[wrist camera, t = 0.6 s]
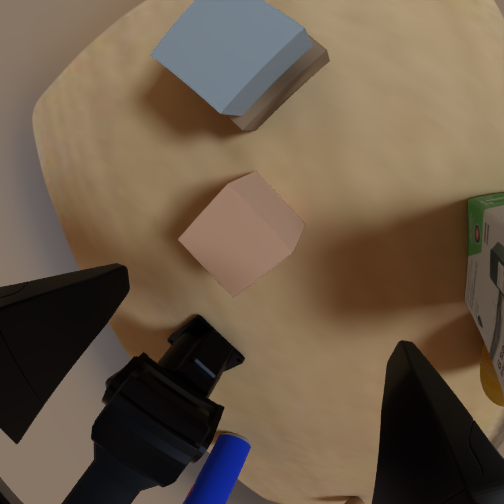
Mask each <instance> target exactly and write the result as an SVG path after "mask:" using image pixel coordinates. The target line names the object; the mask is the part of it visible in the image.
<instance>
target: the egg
mask: <svg viewBox="0 0 504 504" xmlns="http://www.w3.org/2000/svg"><path fill="white" fill-rule="evenodd" d="M344 504H364V502H363V500H362V499H361V498H359V497H353V498H350V499H349V500H347V501H346V502H345V503H344Z"/></svg>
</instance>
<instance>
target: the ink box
mask: <svg viewBox="0 0 504 504" xmlns="http://www.w3.org/2000/svg"><path fill="white" fill-rule="evenodd" d="M465 302H466V304H467V306H468V308H469V310H470V312H471V314H472V316H473V318H474V321H475V323H476V325H477V327H478V329H479V331H480V334H481V336H482V338H483V340H484V343H485V345H486V347H487V350H488V352H489V355H490V358H491V360H492V363H493V365H494V368H495V371H496V373H497V376H498V379H499V382H500V385H501V388H502V392H503V395H504V193H496V194H489V195H484V196H480V197H475V198H471V199H469V200H468V266H467V280H466V291H465Z"/></svg>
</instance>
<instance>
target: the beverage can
mask: <svg viewBox="0 0 504 504" xmlns="http://www.w3.org/2000/svg"><path fill="white" fill-rule="evenodd" d="M250 448H251V447H250V443H249V441H248V440H247V439H246V438H244V437H242V436H240V435H238V434H235V433H229V432H227V433H223V434H221V435H220V436H219V437H218V439H217V441H216V443H215V445H214V447H213V449H212V451H211V453H210V455H209V457H208V458H207V460H206V463H205V464H204V466H203V468H202V470H201V472H200V473H199V475H198V477H197V479H196V481H195V483H194V485H193V487H192V488H191V490H190V492H189V493H188V495H187V497H186V499H185V501H184V502H183V504H226V502H227V500H228V497H229V495H230V493H231V491H232V489H233V487H234V484H235V482H236V480H237V478H238V476H239V473H240V471H241V469H242V467H243V464H244V462H245V460H246V457H247V455H248V453H249V450H250Z"/></svg>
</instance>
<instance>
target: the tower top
mask: <svg viewBox="0 0 504 504" xmlns="http://www.w3.org/2000/svg"><path fill="white" fill-rule="evenodd" d="M312 46H313V45H312V43H311V41H310V38H309V36H308V34H307V32H306V29H305V28H304V27H303V26H302V25H300V24H299V23H297V22H296V21H294V20H293V19H291V18H290V17H289V16H287V15H285V14H284V13H282V12H281V11H279V10H278V9H276V8H275V7H273V6H271V5H270V4H268V3H266V2H265V1H263V0H195V1H194V2H193V3H192V4H191V5H190V6H189V7H188V8H187V10H186V11H185V12H184V13H183V14H182V15H181V16H180V18H179V19H178V20H177V21H176V22H175V23H174V25H173V26H172V27H171V28H170V30H169V31H168V32H167V33H166V35H165V36H164V37H163V38H162V40H161V41H160V42H159V44H158V45H157V46H156V48H155V49H154V50H153V52H152V53H151V54H150V55H151V56H152V57H153V58H155V59H156V60H157V61H159V62H160V63H161V64H162V65H164V66H165V67H166V68H167V69H169V70H170V71H171V72H172V73H174V74H175V75H176V76H177V77H178V78H180V79H181V80H182V81H183V82H184V83H186V84H187V85H188V86H189V87H190V88H192V89H193V90H194V91H195V92H196V93H197V94H199V95H200V96H201V97H202V98H203V99H204V100H205V101H207V102H208V103H209V104H210V105H211V106H212V107H213V108H214V109H216V110H217V111H218V112H219V113H220V114H228V115H237V116H242V115H243V114H244V113H245V112H246V111H247V110H248V109H249V108H250V107H251V106H252V105H253V104H254V103H255V101H256V100H257V99H258V98H259V97H260V96H261V95H262V94H263V93H264V92H265V91H266V90H267V89H268V88H269V87H270V86H271V85H272V84H273V83H274V82H275V81H276V80H277V79H278V78H279V77H280V76H281V75H282V74H283V73H284V72H285V71H286V70H287V69H288V68H289V67H290V66H291V65H292V64H293V63H295V62H296V61H297V60H298V59H299V58H300V57H301V56H302V55H303V54H304V53H305V52H306V51H308V50H309V49H310V48H311V47H312Z"/></svg>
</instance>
